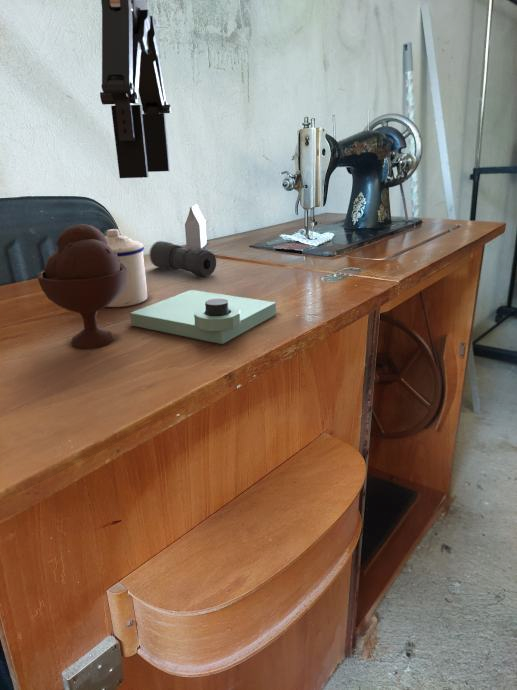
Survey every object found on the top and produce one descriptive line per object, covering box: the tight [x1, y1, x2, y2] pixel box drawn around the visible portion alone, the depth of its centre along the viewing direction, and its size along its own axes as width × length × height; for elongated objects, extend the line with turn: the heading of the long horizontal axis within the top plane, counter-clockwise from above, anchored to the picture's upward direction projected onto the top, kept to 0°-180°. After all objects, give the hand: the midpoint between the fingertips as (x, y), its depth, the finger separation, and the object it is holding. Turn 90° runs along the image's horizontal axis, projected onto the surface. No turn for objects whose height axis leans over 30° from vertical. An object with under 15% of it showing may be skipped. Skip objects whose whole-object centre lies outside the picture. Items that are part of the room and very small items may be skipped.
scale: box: [129, 289, 277, 345], centre depth 74 cm, size 17×15×4 cm
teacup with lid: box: [104, 228, 148, 308], centre depth 84 cm, size 12×9×12 cm
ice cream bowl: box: [37, 223, 127, 349], centre depth 66 cm, size 11×11×15 cm
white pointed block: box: [184, 203, 208, 249], centre depth 130 cm, size 4×7×10 cm, turn 174°
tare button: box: [205, 299, 229, 316], centre depth 67 cm, size 3×3×2 cm
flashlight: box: [148, 240, 217, 278], centre depth 104 cm, size 15×5×5 cm, turn 47°
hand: (147, 174), depth 58 cm, fingers open, 13 cm apart
